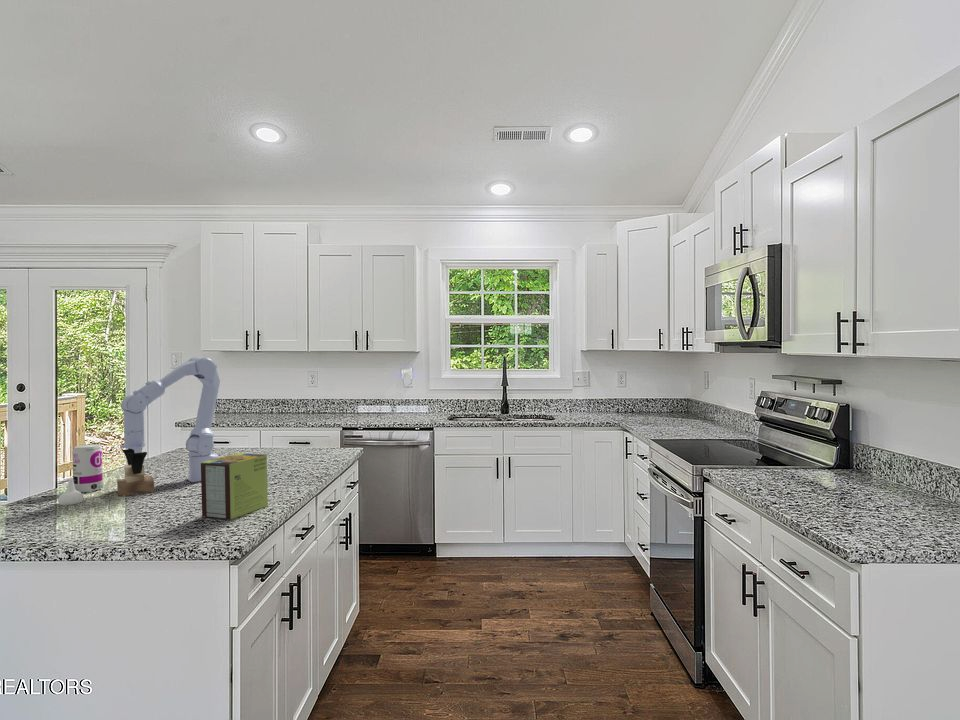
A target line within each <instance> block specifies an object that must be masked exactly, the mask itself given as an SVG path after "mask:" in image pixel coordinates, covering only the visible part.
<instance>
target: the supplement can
mask: <svg viewBox="0 0 960 720" xmlns="http://www.w3.org/2000/svg"><path fill="white" fill-rule="evenodd" d="M103 474H104V473H103V448H102V447H101V445H100V444H96V443H93V444H92V443H90V444H82V445H75V446H74V448H73V450H72V478H73V481H74V486H75V489H76V490H77V491H79V492H88V493H91V492H90V491H94V492H96V491H95V490H98V491H100V490H102V488H103V486H104V481H103ZM99 489H100V490H99Z"/></svg>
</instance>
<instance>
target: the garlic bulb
mask: <svg viewBox="0 0 960 720" xmlns="http://www.w3.org/2000/svg"><path fill="white" fill-rule="evenodd" d="M67 480H68V484H67V489H66V490H65V491H64V492H62V493H60V495H59V497H58V500H57V502H58V504H59V505H60V506H72V505H73V506H74V505H77V504H81V503H82V502H83V500H84V495H83V494H84V493H81V492H79V491H77V490H76V489H75V486H74V481H73V477H69V478H68V479H67ZM80 502H81V503H80Z"/></svg>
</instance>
